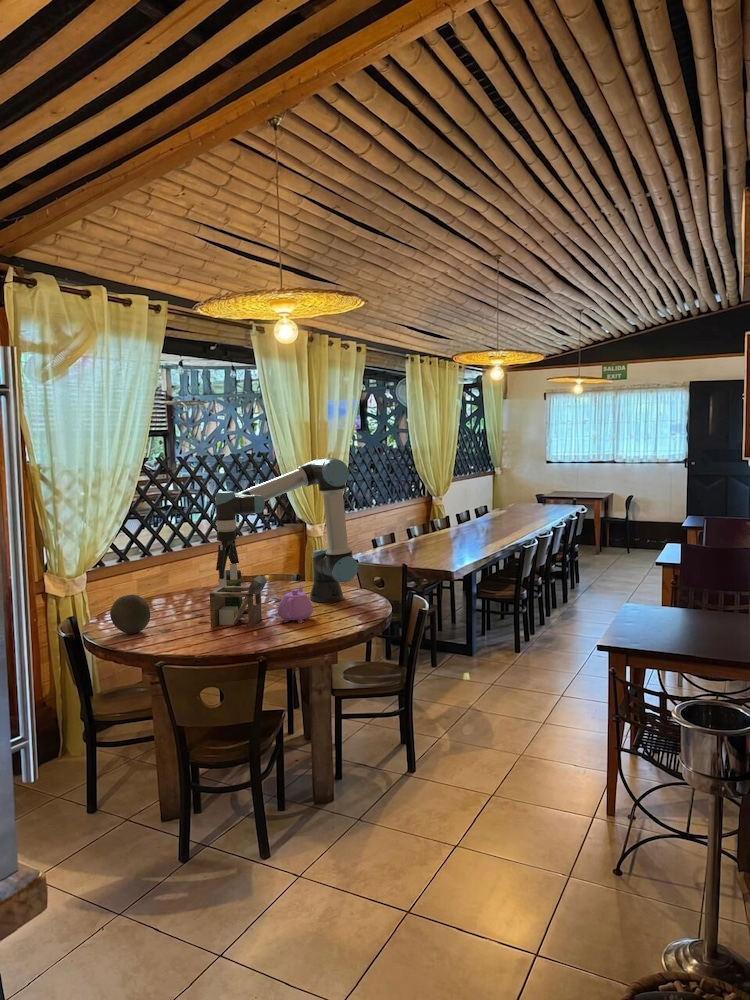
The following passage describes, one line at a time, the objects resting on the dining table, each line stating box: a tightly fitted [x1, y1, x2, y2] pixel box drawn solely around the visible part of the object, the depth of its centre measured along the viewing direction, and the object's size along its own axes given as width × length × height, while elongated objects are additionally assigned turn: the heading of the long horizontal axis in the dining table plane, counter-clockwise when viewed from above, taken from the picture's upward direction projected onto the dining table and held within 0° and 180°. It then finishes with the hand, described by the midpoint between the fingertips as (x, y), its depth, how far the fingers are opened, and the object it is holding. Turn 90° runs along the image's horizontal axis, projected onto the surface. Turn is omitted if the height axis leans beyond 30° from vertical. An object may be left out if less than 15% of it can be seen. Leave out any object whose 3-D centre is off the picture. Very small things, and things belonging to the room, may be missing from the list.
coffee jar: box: [217, 569, 243, 610], centre depth 286 cm, size 10×8×19 cm
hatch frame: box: [209, 585, 263, 628], centre depth 271 cm, size 17×13×14 cm
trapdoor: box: [233, 574, 268, 622], centre depth 270 cm, size 19×8×4 cm
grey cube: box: [218, 607, 240, 626], centre depth 271 cm, size 6×6×6 cm
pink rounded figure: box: [277, 584, 314, 624], centre depth 274 cm, size 20×14×12 cm
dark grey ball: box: [109, 594, 151, 635], centre depth 258 cm, size 14×14×15 cm
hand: (228, 583), depth 270 cm, fingers open, 13 cm apart
